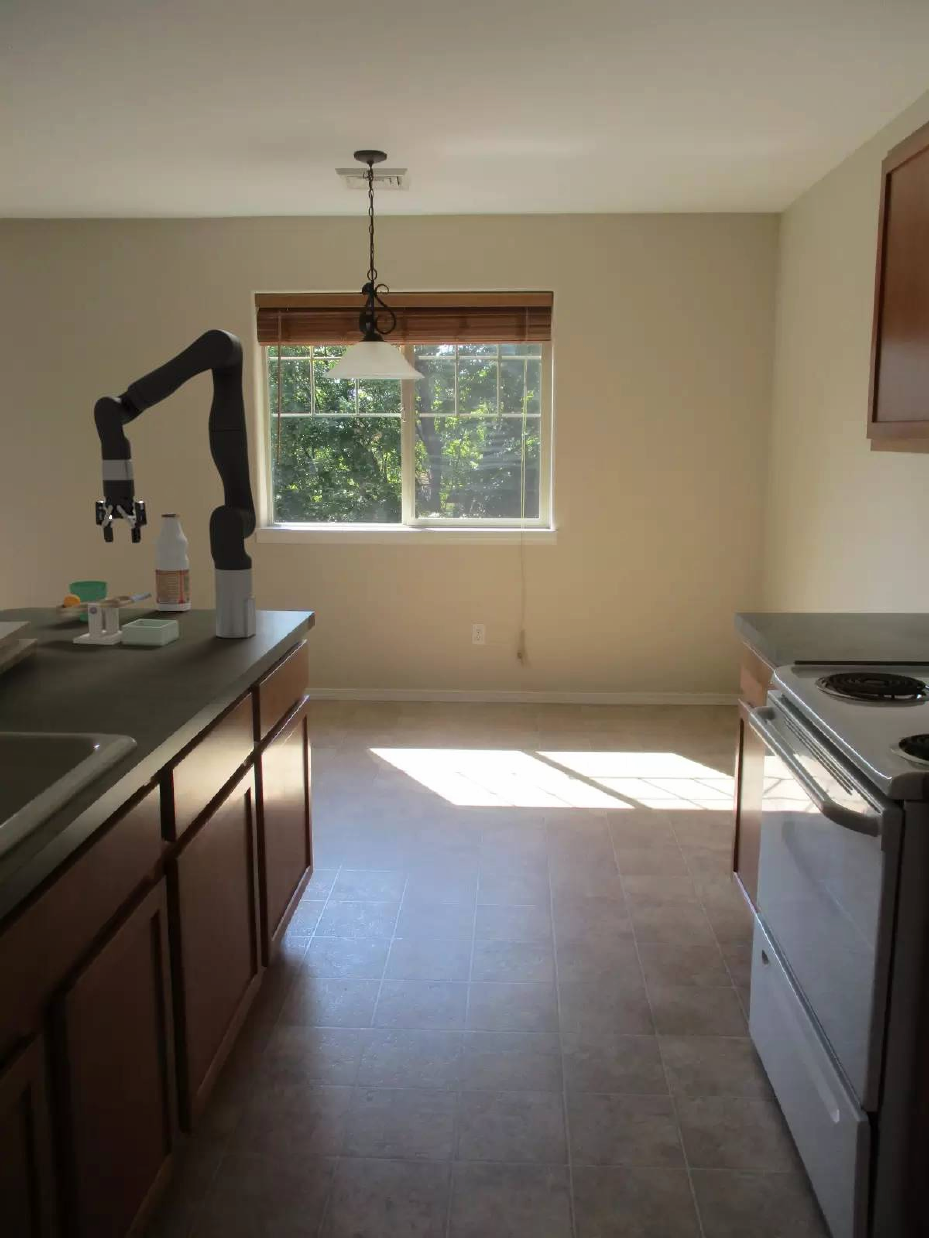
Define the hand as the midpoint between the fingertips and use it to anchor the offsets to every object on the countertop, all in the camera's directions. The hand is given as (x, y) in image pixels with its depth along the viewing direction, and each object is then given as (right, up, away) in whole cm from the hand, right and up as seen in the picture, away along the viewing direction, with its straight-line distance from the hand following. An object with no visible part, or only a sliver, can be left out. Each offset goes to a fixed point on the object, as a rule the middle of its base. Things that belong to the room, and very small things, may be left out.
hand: (122, 542), depth 256 cm
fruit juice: (+2, -17, +36) cm, 40 cm away
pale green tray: (+10, -25, -8) cm, 28 cm away
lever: (-3, -16, -3) cm, 17 cm away
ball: (-10, -15, -8) cm, 20 cm away
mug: (-16, -19, +21) cm, 32 cm away
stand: (-2, -24, -7) cm, 25 cm away
